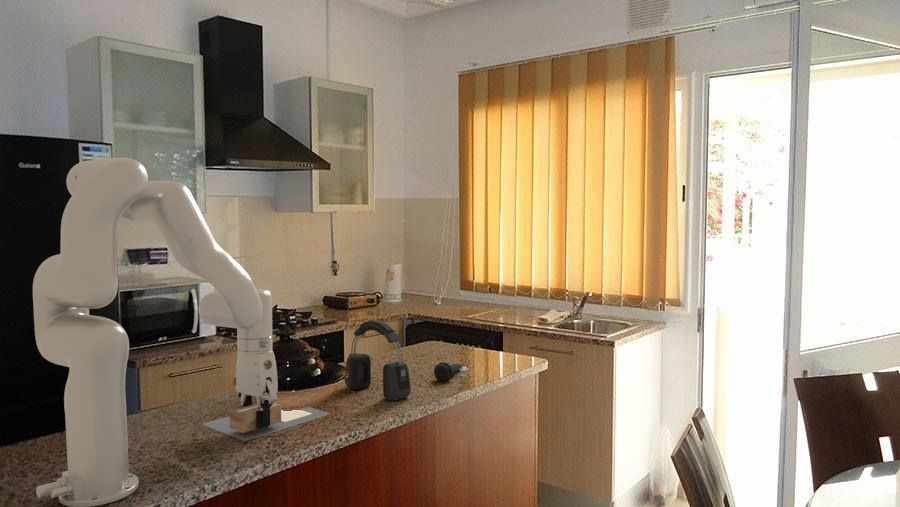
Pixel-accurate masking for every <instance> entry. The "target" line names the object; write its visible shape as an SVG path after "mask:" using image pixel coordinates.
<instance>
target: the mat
mask: <svg viewBox="0 0 900 507" xmlns="http://www.w3.org/2000/svg"><path fill="white" fill-rule="evenodd" d="M308 407H309V408H306V409H301V410H292V411H283V410H281V422H279V423H276V424H272V425H270V426H268V427H264V428H261V429H254V430H251V431H247V432H244V433H242V432H239V431H236V430H234V429H231V428H230V415H229V416H226V417H221V418H217V419H214V420H211V421H206V422H203V423H201V424H200V425H202V426H204V427H206V428H209V429H212V430H214V431H217V432H218V433H222V434H225V435H227V436H230V437H232V438H235V439H237V440H239V441H243V442H248V441H250V440H253V439H258V438H260V437H263V436H266V435H271V434H273V433H276V432H279V431H283V430H285V429H289V428H291V427H296V426H297V425H301V424H304V423H308V422H310V421H313V420H317V419H320V418H324V417H326V416H329V415H332V413H331V412H326V411H323V410H321V409H317V408H313V407H311V406H308Z"/></svg>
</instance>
